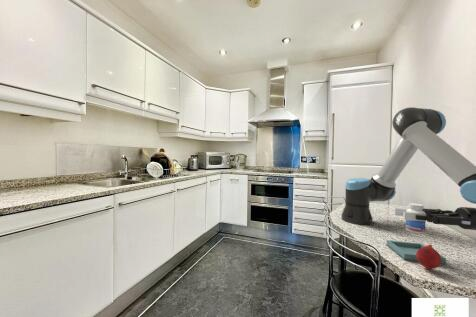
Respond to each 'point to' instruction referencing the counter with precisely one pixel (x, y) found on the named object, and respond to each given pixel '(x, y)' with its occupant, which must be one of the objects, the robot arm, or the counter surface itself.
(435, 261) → the onion
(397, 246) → the tray
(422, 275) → the counter surface
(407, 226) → the pill bottle
